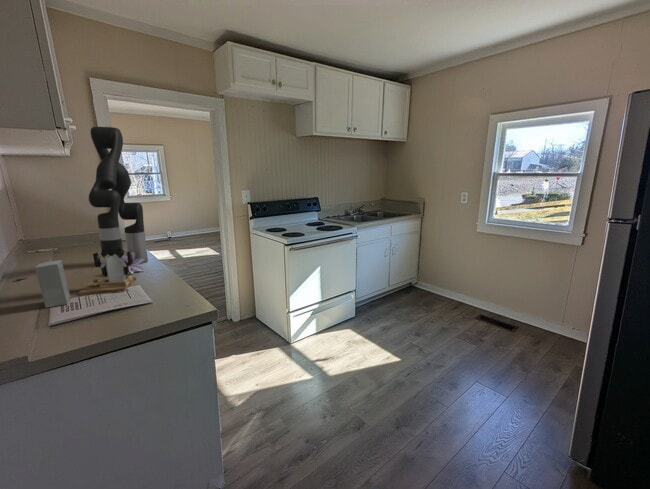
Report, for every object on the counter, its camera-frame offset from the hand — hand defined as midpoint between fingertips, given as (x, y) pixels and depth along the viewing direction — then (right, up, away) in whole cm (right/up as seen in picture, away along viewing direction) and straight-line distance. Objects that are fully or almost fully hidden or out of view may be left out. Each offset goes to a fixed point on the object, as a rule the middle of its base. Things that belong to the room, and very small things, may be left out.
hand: (116, 275), depth 132 cm
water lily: (-6, -1, +19) cm, 20 cm away
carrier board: (-3, -5, 0) cm, 6 cm away
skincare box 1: (-10, -9, -17) cm, 22 cm away
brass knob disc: (-8, -4, -1) cm, 9 cm away
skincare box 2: (0, -3, +1) cm, 3 cm away
